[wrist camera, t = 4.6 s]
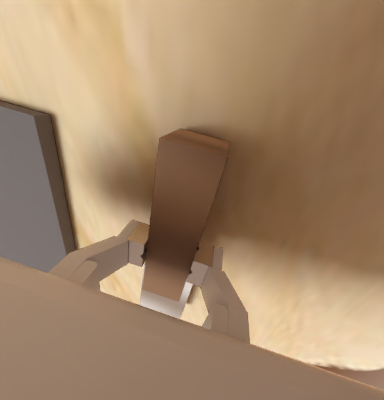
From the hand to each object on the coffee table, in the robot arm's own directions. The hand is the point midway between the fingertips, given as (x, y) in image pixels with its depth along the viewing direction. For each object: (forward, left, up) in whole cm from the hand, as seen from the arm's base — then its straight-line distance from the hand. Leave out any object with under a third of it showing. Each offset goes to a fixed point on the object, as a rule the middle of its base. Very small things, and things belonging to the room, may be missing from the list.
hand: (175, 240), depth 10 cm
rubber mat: (+6, -14, -2) cm, 16 cm away
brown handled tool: (+2, 0, -2) cm, 3 cm away
